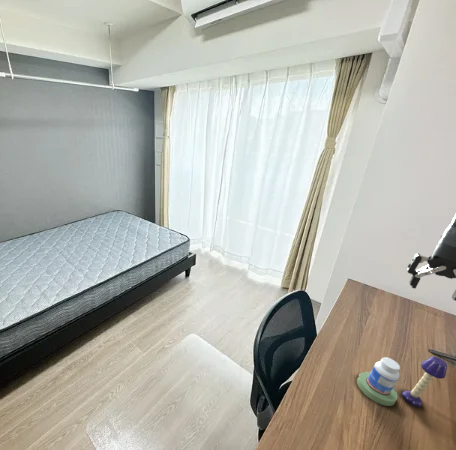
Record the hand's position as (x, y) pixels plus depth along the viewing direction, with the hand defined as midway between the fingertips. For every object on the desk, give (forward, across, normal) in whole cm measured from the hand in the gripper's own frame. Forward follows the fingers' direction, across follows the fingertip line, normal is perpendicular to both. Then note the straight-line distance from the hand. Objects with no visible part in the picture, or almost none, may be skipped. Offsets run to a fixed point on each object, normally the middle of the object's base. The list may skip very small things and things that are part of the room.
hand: (433, 293), depth 71 cm
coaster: (+30, -5, -15) cm, 34 cm away
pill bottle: (+28, -5, -15) cm, 32 cm away
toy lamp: (+30, +4, -12) cm, 33 cm away
